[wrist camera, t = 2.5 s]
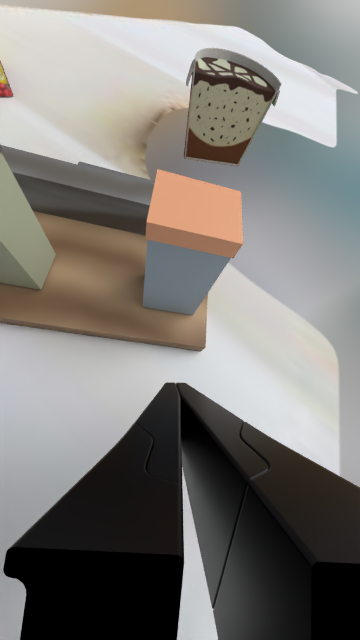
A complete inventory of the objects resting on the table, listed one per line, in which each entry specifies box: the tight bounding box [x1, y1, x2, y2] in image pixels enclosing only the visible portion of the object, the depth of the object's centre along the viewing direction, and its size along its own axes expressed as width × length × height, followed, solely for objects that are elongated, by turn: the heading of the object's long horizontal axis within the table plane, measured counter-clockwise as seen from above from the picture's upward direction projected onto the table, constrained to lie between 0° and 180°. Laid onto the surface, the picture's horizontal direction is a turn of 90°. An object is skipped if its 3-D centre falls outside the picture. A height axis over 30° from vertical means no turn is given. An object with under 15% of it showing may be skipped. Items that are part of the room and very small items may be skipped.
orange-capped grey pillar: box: [143, 170, 243, 315], centre depth 16 cm, size 4×5×10 cm
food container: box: [184, 48, 281, 166], centre depth 30 cm, size 12×6×10 cm, turn 97°
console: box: [0, 145, 208, 351], centre depth 20 cm, size 15×22×6 cm
